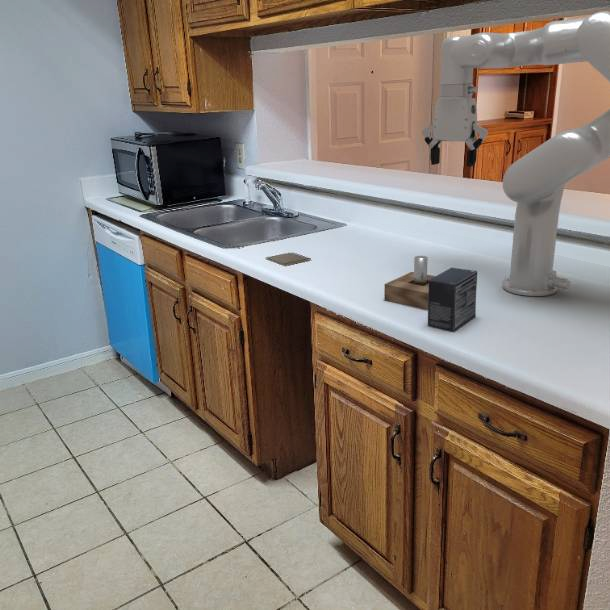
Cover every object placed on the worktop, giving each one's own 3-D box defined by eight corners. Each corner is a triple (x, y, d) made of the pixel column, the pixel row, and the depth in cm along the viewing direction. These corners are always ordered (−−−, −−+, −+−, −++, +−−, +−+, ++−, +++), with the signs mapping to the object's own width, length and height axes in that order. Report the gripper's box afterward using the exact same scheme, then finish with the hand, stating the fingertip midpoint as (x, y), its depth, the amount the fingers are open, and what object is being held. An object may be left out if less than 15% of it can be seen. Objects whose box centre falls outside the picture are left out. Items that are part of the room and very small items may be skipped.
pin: (428, 297, 143) (430, 256, 140) (422, 301, 141) (423, 259, 138) (417, 295, 145) (418, 255, 142) (411, 298, 143) (412, 257, 139)
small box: (448, 311, 134) (450, 266, 131) (476, 317, 130) (479, 270, 127) (425, 326, 127) (427, 278, 123) (454, 332, 123) (456, 283, 119)
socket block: (455, 295, 143) (455, 279, 142) (429, 310, 135) (430, 293, 134) (411, 287, 151) (411, 271, 150) (384, 300, 142) (384, 284, 141)
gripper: (496, 91, 142) (492, 165, 148) (431, 92, 153) (429, 161, 159) (482, 92, 137) (478, 169, 143) (416, 93, 148) (414, 165, 153)
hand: (452, 165), depth 151 cm, fingers open, 9 cm apart
